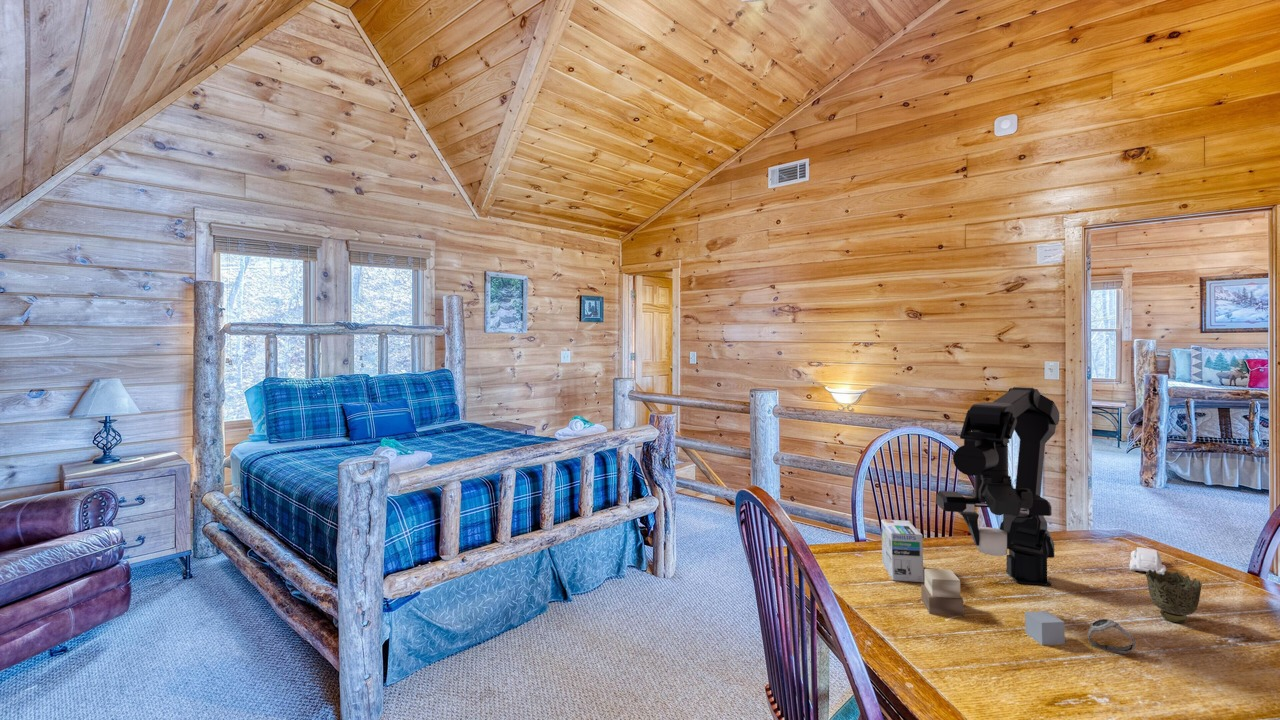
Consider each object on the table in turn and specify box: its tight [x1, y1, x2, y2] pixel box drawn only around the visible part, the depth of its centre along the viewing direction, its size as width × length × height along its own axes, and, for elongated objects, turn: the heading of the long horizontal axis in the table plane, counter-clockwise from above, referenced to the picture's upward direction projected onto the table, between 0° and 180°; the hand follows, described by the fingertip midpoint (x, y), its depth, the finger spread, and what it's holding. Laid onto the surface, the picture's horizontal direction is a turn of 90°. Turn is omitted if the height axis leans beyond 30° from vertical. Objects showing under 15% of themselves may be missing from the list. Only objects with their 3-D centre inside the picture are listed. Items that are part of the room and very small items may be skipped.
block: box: [1024, 610, 1066, 646], centre depth 97 cm, size 4×4×4 cm
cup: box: [1145, 570, 1203, 624], centre depth 102 cm, size 8×7×8 cm
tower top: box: [923, 568, 961, 598], centre depth 109 cm, size 5×5×4 cm
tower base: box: [920, 583, 965, 618], centre depth 109 cm, size 6×6×4 cm
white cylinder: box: [976, 526, 1008, 557], centre depth 109 cm, size 5×5×4 cm
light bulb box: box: [880, 519, 925, 583], centre depth 126 cm, size 11×7×11 cm, turn 168°
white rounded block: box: [1128, 546, 1167, 575], centre depth 126 cm, size 12×6×5 cm, turn 139°
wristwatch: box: [1087, 618, 1137, 655], centre depth 93 cm, size 4×6×5 cm, turn 51°
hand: (991, 545), depth 109 cm, fingers closed on white cylinder, 5 cm apart
